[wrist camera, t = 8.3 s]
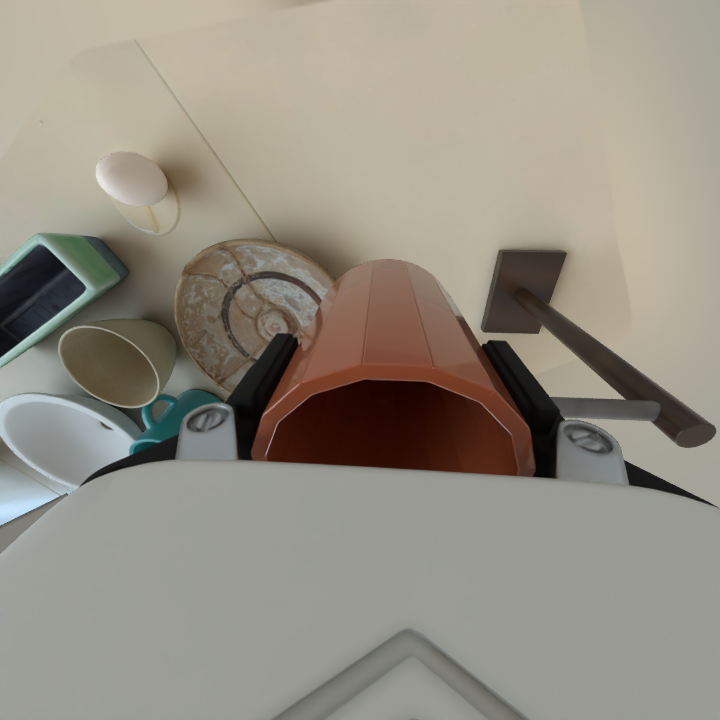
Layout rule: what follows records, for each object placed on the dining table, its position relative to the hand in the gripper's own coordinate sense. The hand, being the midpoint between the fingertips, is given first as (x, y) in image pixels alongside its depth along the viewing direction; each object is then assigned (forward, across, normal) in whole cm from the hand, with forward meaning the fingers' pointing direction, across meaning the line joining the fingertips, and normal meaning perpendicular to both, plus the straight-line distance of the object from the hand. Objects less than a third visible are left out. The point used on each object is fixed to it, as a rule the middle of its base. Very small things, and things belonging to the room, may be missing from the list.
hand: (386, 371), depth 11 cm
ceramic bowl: (+27, +14, +10) cm, 32 cm away
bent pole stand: (+27, -13, +5) cm, 30 cm away
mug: (+4, 0, +2) cm, 5 cm away
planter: (+27, +45, +8) cm, 53 cm away
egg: (+27, +25, -6) cm, 38 cm away
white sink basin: (+27, +49, +32) cm, 64 cm away
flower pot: (+27, +33, +14) cm, 45 cm away
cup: (+27, +30, +26) cm, 48 cm away
